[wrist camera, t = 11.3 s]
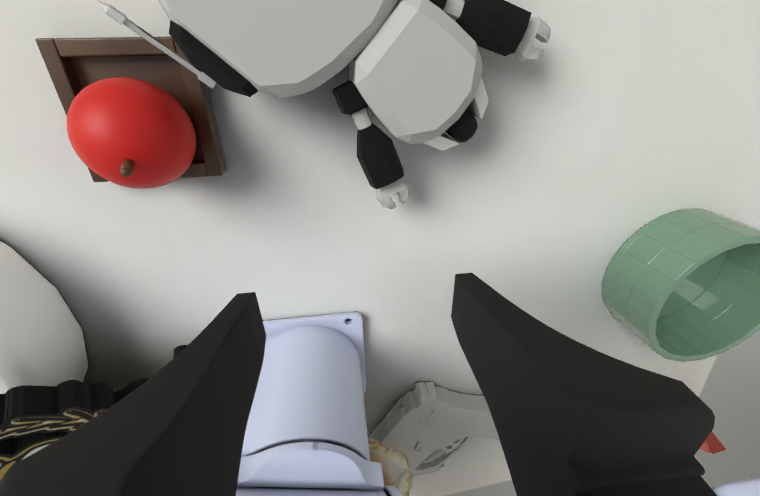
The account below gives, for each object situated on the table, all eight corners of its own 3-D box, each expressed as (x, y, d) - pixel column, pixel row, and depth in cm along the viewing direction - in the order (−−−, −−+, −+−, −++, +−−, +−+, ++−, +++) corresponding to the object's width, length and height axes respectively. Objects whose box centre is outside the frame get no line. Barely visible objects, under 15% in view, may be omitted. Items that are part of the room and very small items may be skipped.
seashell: (392, 603, 19) (330, 568, 27) (458, 520, 23) (387, 510, 30) (326, 465, 21) (285, 468, 28) (396, 409, 25) (344, 425, 32)
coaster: (104, 177, 18) (93, 182, 17) (50, 39, 15) (34, 38, 15) (227, 170, 19) (222, 175, 18) (197, 38, 16) (189, 36, 15)
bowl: (587, 326, 28) (629, 368, 24) (624, 213, 24) (683, 242, 20) (696, 314, 29) (753, 353, 25) (751, 203, 25) (832, 230, 21)
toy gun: (389, 554, 41) (272, 533, 36) (563, 405, 33) (443, 348, 27) (392, 574, 40) (269, 555, 34) (576, 423, 31) (450, 366, 26)
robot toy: (532, 33, 19) (297, -320, 12) (592, 30, 15) (293, -496, 8) (380, 203, 22) (126, 4, 15) (396, 237, 18) (66, -9, 11)
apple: (114, 161, 18) (91, 230, 14) (57, 65, 15) (7, 125, 11) (210, 148, 19) (209, 209, 16) (176, 56, 16) (166, 108, 12)
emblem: (156, 488, 28) (-192, 602, 16) (153, 469, 29) (-180, 564, 17) (260, 360, 24) (-112, 390, 12) (253, 342, 25) (-102, 353, 13)
